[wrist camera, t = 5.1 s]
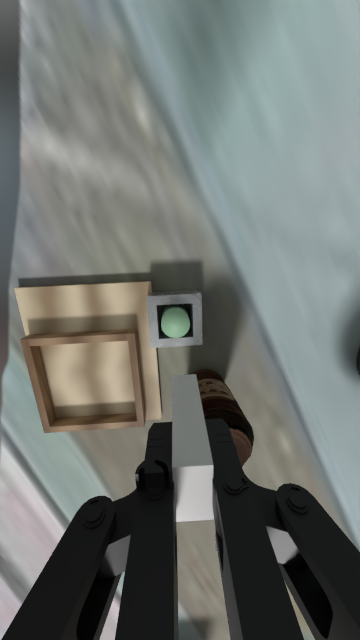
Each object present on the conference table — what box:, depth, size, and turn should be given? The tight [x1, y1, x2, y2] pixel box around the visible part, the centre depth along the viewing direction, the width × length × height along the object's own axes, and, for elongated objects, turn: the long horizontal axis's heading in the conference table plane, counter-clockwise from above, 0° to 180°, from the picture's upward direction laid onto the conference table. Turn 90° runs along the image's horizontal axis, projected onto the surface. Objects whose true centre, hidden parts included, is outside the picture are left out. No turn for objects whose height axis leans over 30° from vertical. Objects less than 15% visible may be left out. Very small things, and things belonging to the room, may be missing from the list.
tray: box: [14, 281, 162, 433], centre depth 33 cm, size 18×22×3 cm
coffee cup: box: [193, 370, 254, 466], centre depth 30 cm, size 9×8×13 cm
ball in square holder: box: [146, 289, 203, 348], centre depth 31 cm, size 7×7×4 cm
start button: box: [161, 304, 190, 338], centre depth 30 cm, size 4×4×4 cm
